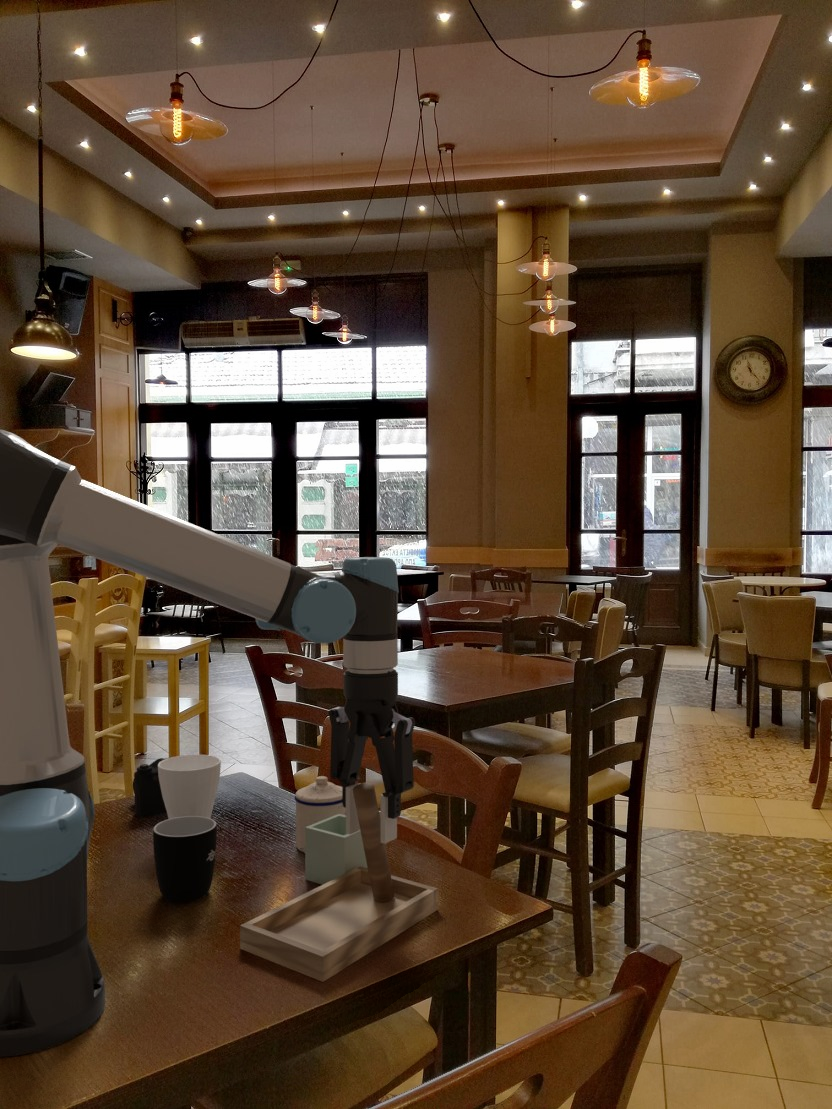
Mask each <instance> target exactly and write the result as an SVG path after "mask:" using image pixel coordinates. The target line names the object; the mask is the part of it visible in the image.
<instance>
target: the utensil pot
mask: <svg viewBox="0 0 832 1109" xmlns="http://www.w3.org/2000/svg"><path fill="white" fill-rule="evenodd" d="M304 854H305V855H304V857H305V858H304V859H305V860H304V863H305V864H304V868H305V873H304V874H305V877H304V878H305V880H306V881H310V882H313V883H316V884H319V885H323V884H325V883H327V882H329V881H331V880H333V879H335V878H337V877H339V876H341V875H343V874H345V873H347V872H349V871H352V870H354V869H356V868H358V867H360V866H361V867H365V868H368V867H367V862H366V857H365V852H364V847H363V841H362V836H361V831H360V830H359V831H357V832H355V833H352V834H346V815H342V814H337V815H334V816H332V817H329V818H327V819H325V820H322V821H320V822H317V823H315V824H312V825H310V826H307V827H305V853H304Z"/></svg>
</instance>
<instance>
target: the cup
mask: <svg viewBox="0 0 832 1109" xmlns="http://www.w3.org/2000/svg"><path fill="white" fill-rule="evenodd" d="M167 758H168V759H165V758H164V759H165V760H162V761H161V762H159V764H158V775H159V782H160V787H161V792H162V797H163V800H164V804H165V807H166V810H167V813H166V814H167V818H168V819H172V818H176V817H184V816H201V817H207V818H210V819H212V814H213V809H214V804H215V802H216V797H217V794H218V793H217V792H218V787H219V782H220V778H221V768H222V766H221V765H222V761H221V759H220V758H219V757H217V756H214V755H209V754H185V755H184V754H183V755H177V756H172V757H170V758H169V757H167ZM168 819H167V820H168Z"/></svg>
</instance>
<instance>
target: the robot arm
mask: <svg viewBox="0 0 832 1109" xmlns="http://www.w3.org/2000/svg"><path fill="white" fill-rule="evenodd" d="M58 545H61V546H63V547H65V548H68V549H71V550H73V551H76V552H78V553H81V554H84V555H87V556H89V557H92V558H95V559H98V560H100V561H103V562H105V563H108V564H110V565H113V566H115V567H118V568H121V569H123V570H127V571H129V572H131V573H135V574H137V575H140V576H143V577H145V578H147V579H151V580H153V581H155V582H158V583H160V584H164V585H166V586H170V587H172V588H173V589H174V588H175V589H177V590H180V591H182V592H186V593H188V594H190V595H193V596H195V597H198V598H201V599H203V600H206V601H209V602H210V603H214V604H216V605H219V606H222V607H225V608H228V609H230V610H232V611H236V612H237V613H241V614H243V615H247V616H249V617H251V618H254V619H255V622H256V626H258V628H260V629H261V630H264V631H265V630H272V631H273V630H275V631H278V632H281V631H282V630H283V631H284V630H285V631H287V632H290V633H292V634H295V635H297V636H300V637H301V638H303V639H304V640H306V641H308V642H311V643H314V644H332V643H334V642H337V641H339V640H341V639H342V638H343V640H342V641H343V647H342V656H343V657H342V658H343V660H342V665H343V667H344V668H345V669H346V670H345V671H344V672H343V681H342V682H343V697H345V700H346V701H345V703H344V706H339V707H336V708H332V709H330V710H328V717H329V721H330V725H331V732H330V733H331V734H330V735H331V736H330V769H329V770H330V771H329V772H330V777H331V779H333V780H337V781H338V782H339V783H340V786H341V787H342V796H343V797H342V799H343V800H342V804H343V807H345V808H346V834H352V833H355V832H357V831H359V830H360V826H359V821H358V816H357V810H356V805H355V800H354V795H353V788H354V787H355V786H356V785H358V784H361V782H360V781H361V777H359V774H360V770H361V764H362V761H363V756H364V752H365V747H366V743H367V740H368V739H369V738H370V739H371V744H372V745H373V747H375V750H376V755H377V760H378V764H379V769H380V773H381V778H382V784H383V788H384V791H383V792H382V793H381V794H380V805H379V806H380V809H379V810H380V811H379V814H380V820H381V843H384V844H385V845H386V844H388V843H389V842H391V841H393V840H396V839H397V838H398V818H399V817H400V816H401V813H402V794H403V793H405V792H407V791H410V790H412V789H413V788H414V756H413V752H414V751H413V748H414V747H413V733H414V730H415V726H416V719H415V718H414V717H412V716H411V717H410V716H409V717H406V716H404V715H402V714H400V713H399V709H398V707H397V704H396V700H397V698H398V697H397V696H398V694H399V672H397V670H396V669H394V668H396V667H397V666H398V664H399V662H398V661H399V658H398V657H399V656H398V655H399V654H398V650H399V649H398V648H399V647H398V641H399V640H398V619H399V618H398V617H399V616H398V610H399V608H398V607H399V602H398V601H399V593H400V591H399V582H398V580H399V579H398V571H397V570H398V568H397V563H396V562H395V561H394V560H393V559H392V558H390V557H383V556H381V557H380V556H379V557H378V556H377V557H376V556H375V557H374V556H364V557H363V556H362V557H347V558H345V559H344V560H343V561H342V568H341V571H336V572H335V571H334V572H312V571H309V570H307V569H304V568H302V567H299V566H297V565H293V564H291V563H290V562H288V561H285V560H282V559H279V558H278V557H274V556H273V555H270V554H268V553H265V552H263V551H261V550H258V549H256V548H252V547H251V546H247V545H245V544H242V543H240V542H238V541H235V540H233V539H231V538H228V537H226V536H223V535H220V534H218V533H215V532H213V531H211V530H209V529H205V528H203V527H201V526H198V525H195V524H194V523H191V522H188V521H186V520H183V519H181V518H178V517H176V516H174V515H171V514H169V513H167V512H164V511H161V510H160V509H156V508H154V507H152V506H150V505H147V504H145V503H141V502H139V501H137V500H134V499H132V498H129V497H127V496H124V495H122V494H120V493H117V492H114V491H112V490H109V489H107V488H105V487H102V486H100V485H98V484H95V483H93V482H90V481H87V480H85V479H83V478H82V476H81V475H80V473H79V471H78V469H77V467H76V466H75V465H72V464H70V463H67V462H65V461H62V460H60V459H58V458H55V457H54V456H52V455H49V454H47V453H46V452H44V451H42V450H40V449H38V448H37V447H35V446H34V445H32V444H30V443H29V442H27V441H26V440H25V439H24V438H22V437H21V436H18V435H17V434H16V433H14V432H10V431H7V430H4V429H0V1057H12V1056H13V1057H14V1056H21V1055H27V1054H32V1053H36V1052H40V1051H43V1050H47V1049H50V1048H52V1047H56V1046H58V1045H60V1044H64V1043H65V1042H68V1041H69V1040H71V1039H73V1038H75V1037H77V1036H78V1035H80V1034H82V1033H83V1032H85V1031H86V1030H87V1029H89V1028H90V1027H91V1026H93V1025H94V1024H95V1023H96V1022H97V1020H98V1019H99V1018H100V1017H101V1016H102V1014H103V1011H104V1009H105V1007H106V983H105V978H104V976H103V973H102V970H101V968H100V966H99V963H98V960H97V958H96V955H95V952H94V949H93V946H92V944H91V941H90V939H89V936H88V935H89V934H88V933H89V932H88V928H89V927H88V922H89V921H88V859H89V858H88V857H89V851H90V842H91V835H92V830H93V827H94V823H95V805H94V800H93V798H92V795H91V791H90V790H89V786H88V777H87V776H88V775H87V770H86V769H87V768H86V761H85V756H84V754H82V753H80V752H78V751H77V750H75V749H74V748H72V746H71V744H70V737H69V736H70V734H69V728H68V718H67V709H66V703H65V702H66V701H65V694H64V692H65V691H64V684H63V683H64V682H63V676H62V675H63V674H62V667H61V660H60V652H59V651H60V650H59V642H58V635H57V634H58V633H57V626H56V624H57V623H56V616H55V608H54V601H53V600H54V598H53V590H52V582H51V581H52V580H51V574H50V566H49V565H50V563H49V557H50V554H52V552H53V551H54V550H55V548H56V547H57V546H58ZM393 725H394V726H393ZM358 781H359V782H360V783H359V782H358ZM356 782H357V783H356Z"/></svg>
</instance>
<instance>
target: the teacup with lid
mask: <svg viewBox="0 0 832 1109" xmlns="http://www.w3.org/2000/svg"><path fill="white" fill-rule="evenodd" d="M342 797H343V796H342V785H336V784H335V783H333V782H331V781H329V779H328V777H327V776H324V775H320V776H316V778H315V782H312V783H310V784H309V785H307V786H305V787H301V788H300V789H298V790H297V791H296V792H295V795H294V801H295V841H296V842H295V846H296V849H297V850H299V851H300V852H302V853H304V854H305V827H307V826H310V825H312V824H315V823H317V822H320V821H322V820H325V819H327V818H329V817H332V816H334V815H337V814H342V815H346V808H345V807H343V804H342V800H343V799H342Z"/></svg>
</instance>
